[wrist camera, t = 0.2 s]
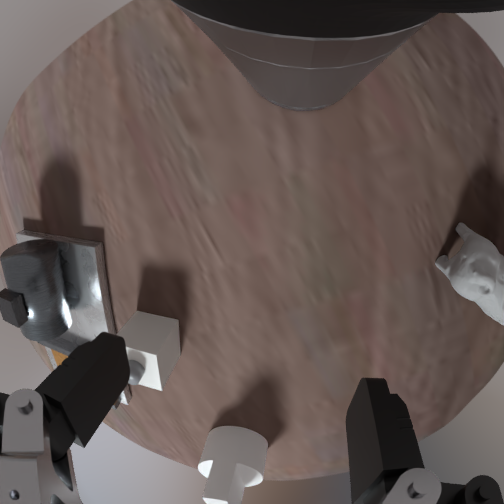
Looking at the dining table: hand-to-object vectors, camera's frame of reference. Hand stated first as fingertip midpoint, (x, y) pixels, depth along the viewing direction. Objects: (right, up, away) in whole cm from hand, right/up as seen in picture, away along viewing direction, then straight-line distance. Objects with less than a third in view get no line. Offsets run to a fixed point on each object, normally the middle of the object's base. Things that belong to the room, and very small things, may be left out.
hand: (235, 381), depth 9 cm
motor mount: (-23, -5, +24) cm, 34 cm away
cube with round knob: (-10, -5, +22) cm, 25 cm away
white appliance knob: (-2, -24, +29) cm, 37 cm away
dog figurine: (+23, +3, +14) cm, 27 cm away
